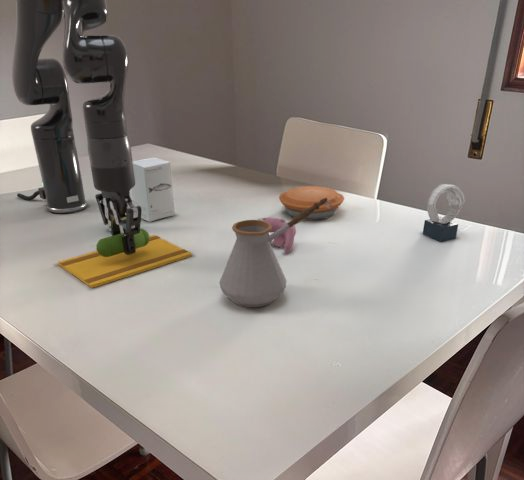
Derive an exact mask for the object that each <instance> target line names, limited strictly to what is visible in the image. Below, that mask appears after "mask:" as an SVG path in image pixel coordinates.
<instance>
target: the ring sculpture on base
mask: <svg viewBox="0 0 524 480" xmlns="http://www.w3.org/2000/svg"><path fill="white" fill-rule="evenodd" d="M441 195H443V196H444V198H445V200H446V201H447V202H448V206H449V207H450V208H449V209H448V211H447V213H446V214H445V216H444V215H443V217H442V216H439V213H438V209H437V201H438V199H439V198H440V196H441ZM465 202H466V196H465V195H464V193H463V191H462V189H460V187H458V186H457V185H455V184H452V183H450V184H448V183H441V184H439V185H437V186H436V187H434V189H433V190H432V191H431V192H430V195H429V197H428V199H427V204H426V211H427V214H428V217H429V218H428V219H424V223H423V230H422V235H424V236H426V237H429V238H430V239H432V240H435V241H437V242H440V243H442V242H447V241H451V240H455V239H456V238H457V233H458V229H459V223H456V222H454V221H453V220H454V219H455V218H456V217H457V216H458V215H459V212H460V211H461V210H462V208H463V205H464V203H465Z"/></svg>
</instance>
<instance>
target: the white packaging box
mask: <svg viewBox="0 0 524 480" xmlns="http://www.w3.org/2000/svg"><path fill="white" fill-rule="evenodd" d="M132 161H133V168H134V176H135V186H134V187H133V188H131V190H130V194H131V198H132V204H133V205H134V206H135V207H136V206H140V207H141V209H142V213H141V220H145V221H146V222H149V223H151V222H153V221H157V220H161V219H164V218H165V219H166V218H169V217H173V216H175V215H176V210H175V198H174V188H173V187H174V185H173V176H172V175H173V174H172V164H171V163H172V162H171V161H167V160H166V159H165V160H164V159H161V158H158V157H155V156H154V157H148V158H143V159H138V160H132Z"/></svg>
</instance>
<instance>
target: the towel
mask: <svg viewBox="0 0 524 480" xmlns="http://www.w3.org/2000/svg"><path fill="white" fill-rule="evenodd" d="M149 237H150V240H149V242H148V244H147V245H146V246H143V247H140V248H137V249H136V252H135V253H133V254H130V255H127V254H125V253H124V252H123V253H120V254H116V255H113V256H110V257H103V256H101V255H100V254H99V253H98V252H97V250H94V251H90V252H87V253H84V254H80V255H77V256H73V257H70V258H67V259H63V260H60V261H57V265H58V266H59V267H61V268H62V269H63V270H64V271H67V272H68V273H70V275H72V276H74V277H75V278H77V279H78V280H80V282H83V284H86V285H87V286H88V287H90V288H91V289H93V288H94V289H95V288H97V287H101V286H104V285H106V284H110V283H112V282H115V281H120V280H121V279H124V278H127V277H131V276H134V275H137V274H140V273H145V272H146V271H149V270H153V269H155V268H160V267H162V266H165V265H169V264H172V263H174V262H178V261H181V260H184V259H187V258H190V257H192V256H193V253H192V252H189V251H188V250H187V249H185V248H182V247H180V246H177V245H175V244H173V243H171V242H169V241H168V240H165V239H163V238H161V236H158V235H155V234H151V235H149Z"/></svg>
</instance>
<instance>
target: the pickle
mask: <svg viewBox="0 0 524 480" xmlns="http://www.w3.org/2000/svg"><path fill="white" fill-rule="evenodd" d="M149 236H150V234H149V232H148V231H147V230H145V229H144V228H140V233H138V234H135V235H134V241H135V248H136V249H137V248H140V247H143V246H146V245H147V244H148V242H149V240H150V237H149ZM95 248H96V251H97V252H98V253H99V254H100V255H101V256H103V257H110V256H113V255H116V254H120V253H123V252H124V248H123V242H122V235H121V234H117V235H113V236H112V235H110V236H107V237H102V238H101V239H98V241H97V243H96V247H95Z"/></svg>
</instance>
